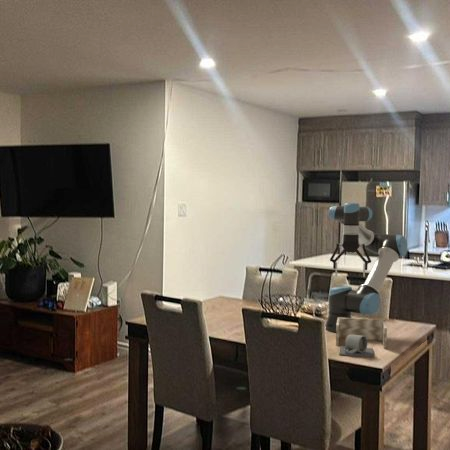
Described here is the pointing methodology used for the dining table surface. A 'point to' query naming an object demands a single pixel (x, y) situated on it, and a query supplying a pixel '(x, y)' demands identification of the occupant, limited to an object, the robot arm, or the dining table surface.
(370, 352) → the rubber mat
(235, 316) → the dining table surface
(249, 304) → the dining table surface
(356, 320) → the open box
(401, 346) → the dining table surface
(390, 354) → the dining table surface
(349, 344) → the ceramic mug
